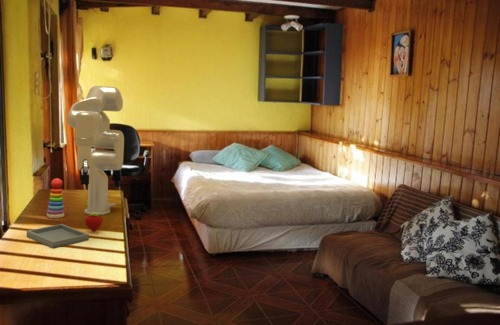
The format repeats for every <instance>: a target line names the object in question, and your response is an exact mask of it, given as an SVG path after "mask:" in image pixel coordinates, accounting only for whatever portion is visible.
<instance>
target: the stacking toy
mask: <svg viewBox="0 0 500 325" xmlns="http://www.w3.org/2000/svg"><path fill="white" fill-rule="evenodd" d="M63 184H64V183H63V180H62V179H60V178H59V177H57V178H53V179H52V180H51V182H50V185H51V187H52V188H51V189H50V194H49V195H50V197H49V201H48V206H47V207H48V208H47V211H46V212H47V213H46V217H47V218H48V219H49V218H50V219H60V218H63V217H65V209H64V207H65V206H64V197H63V193H62V192H63V189H62V186H63Z"/></svg>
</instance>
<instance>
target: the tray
mask: <svg viewBox="0 0 500 325" xmlns="http://www.w3.org/2000/svg"><path fill="white" fill-rule="evenodd" d="M26 237H27V238H28V239H31V240H33V241H35V242H38V243H40V244H42V245H45V246H47V247H49V248H51V249H56V248H61V247H64V246H70V245H74V244H78V243H82V242H86V241H89V240H90V234H89V233H86V232H84V231H82V230H79V229H76V228H74V227H71V226H69V225H66V224H63V223H59V224H55V225H49V226H44V227H43V226H42V227H38V228H34V229H29V230H26Z"/></svg>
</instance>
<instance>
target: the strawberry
mask: <svg viewBox="0 0 500 325" xmlns="http://www.w3.org/2000/svg"><path fill="white" fill-rule="evenodd" d="M103 220H104V219H103V217H102V215H100V214H96V212H95V213H94V214H88V215H87V216H86V217H85V220H84V222H85V225H86V227H88V229H89V231H91V232H92V233H96V232H97V231H98V230H99V228H100V227H101V226H102V224H103Z"/></svg>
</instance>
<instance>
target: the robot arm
mask: <svg viewBox="0 0 500 325" xmlns="http://www.w3.org/2000/svg"><path fill="white" fill-rule="evenodd" d="M120 91H121V90H119V88H117V87H116V86H106V85H94V86H92V87H90V89H89V90H88V93H87V95H86V97H85V98H84V99H82V100H79V101H77V102H75V103H74V104H73V103H72V105H71V107H70V109H69V111H68V113H67V116H66V117H67V119H66V120H67V124H68V126H70V127H71V128H73V129H75V140H74V141H75V146H77V160H76V162H77V163H76V164H77V165H76V167H77V170H79V181H80V185H87V207H86V208H85V209H84V214H87V215H89V214H94V213H95V212H96V214H100V215H99V216H102V215H107V214H109V213H111V208H113V207H115V206H116V202H108V194H109V190H108V188H109V178H108V175H107V173H105V171H106V170H107V171H120V170H121V169H122V168H123V165H124V150H125V149H124V148H125V137H124V133H123V132H122V130H119V129H118V130H117V129H110V125H111V120H110V118H109V116H108V115H107V113H106V112H121V111H122V109H123V106H124V100H123V96H122V94H121V92H120ZM104 111H105V112H104ZM92 147H93V148H97V149H98V150H92ZM99 149H109V150H99Z"/></svg>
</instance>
